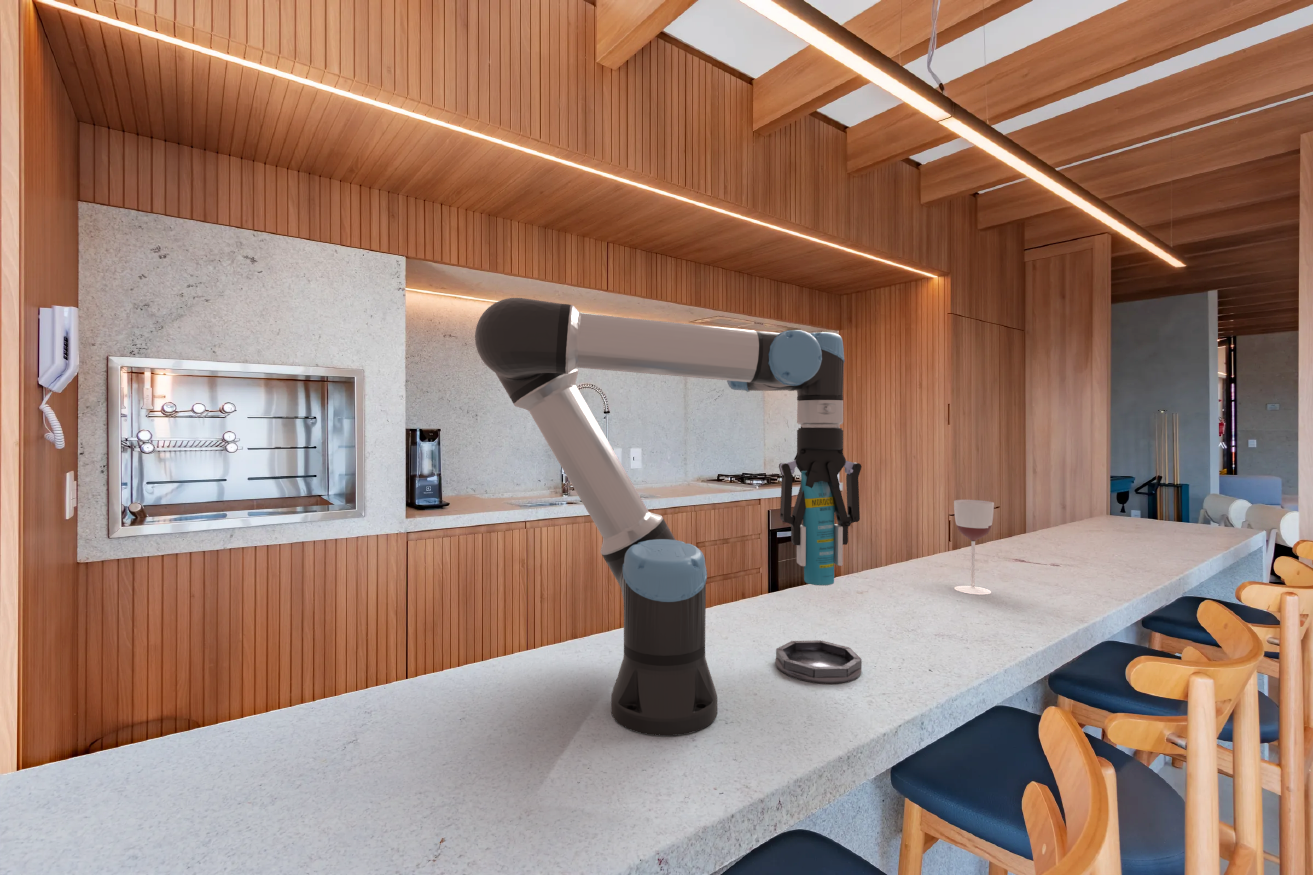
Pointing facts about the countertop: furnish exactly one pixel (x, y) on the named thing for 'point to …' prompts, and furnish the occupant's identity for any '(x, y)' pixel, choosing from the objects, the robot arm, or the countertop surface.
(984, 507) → the wineglass
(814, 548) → the tube
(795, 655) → the octagonal bowl
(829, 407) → the robot arm
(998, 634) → the countertop surface
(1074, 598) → the countertop surface
